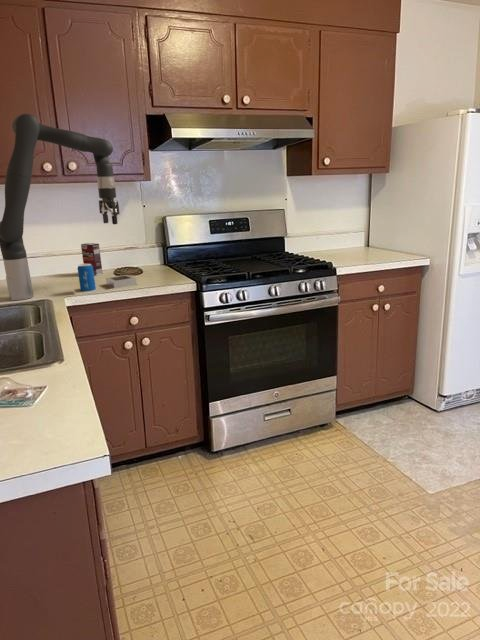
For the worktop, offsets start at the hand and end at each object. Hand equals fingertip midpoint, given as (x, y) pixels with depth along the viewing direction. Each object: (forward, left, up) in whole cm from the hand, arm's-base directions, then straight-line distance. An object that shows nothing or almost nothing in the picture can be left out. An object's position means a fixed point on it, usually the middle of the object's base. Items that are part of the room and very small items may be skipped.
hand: (110, 223), depth 220 cm
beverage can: (-17, -9, -28) cm, 34 cm away
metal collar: (-2, -10, -27) cm, 28 cm away
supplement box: (-3, +28, -28) cm, 40 cm away
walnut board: (-3, -10, -28) cm, 29 cm away
